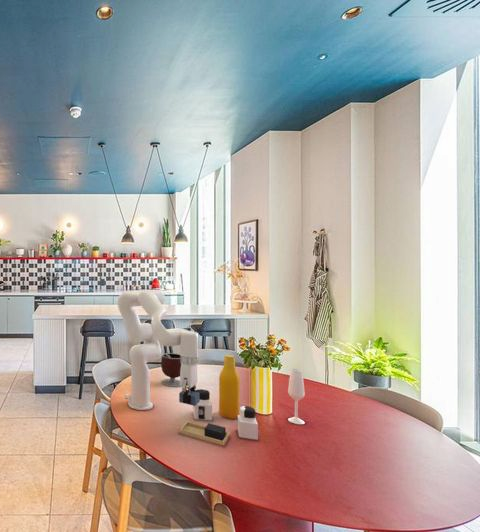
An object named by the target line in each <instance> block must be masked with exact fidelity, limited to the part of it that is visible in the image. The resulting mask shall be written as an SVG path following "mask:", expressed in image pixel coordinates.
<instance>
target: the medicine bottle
mask: <svg viewBox="0 0 480 532" xmlns="http://www.w3.org/2000/svg"><path fill="white" fill-rule="evenodd" d="M236 425H237V426H236V427H237V429H236V430H237V433H238V437H239V438H243V439H249V440H256V441H259V424H258V421H257V418H256V409H255V408H254V407H252V406H249V405H242V406H240V415H238V418H237V424H236Z"/></svg>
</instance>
